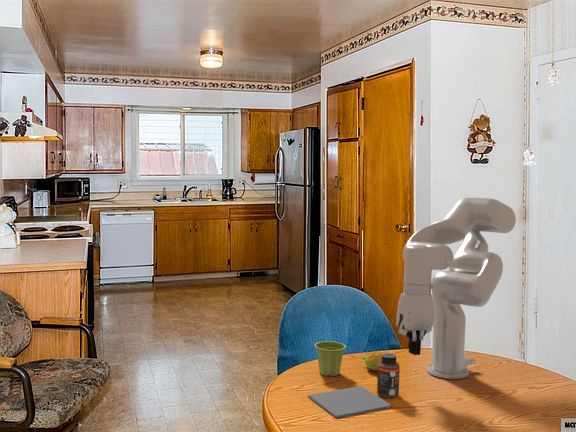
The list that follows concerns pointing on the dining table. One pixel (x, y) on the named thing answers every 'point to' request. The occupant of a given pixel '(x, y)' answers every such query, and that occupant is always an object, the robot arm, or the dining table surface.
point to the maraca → (372, 360)
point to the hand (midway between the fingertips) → (414, 353)
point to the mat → (349, 401)
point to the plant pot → (329, 357)
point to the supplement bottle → (388, 376)
